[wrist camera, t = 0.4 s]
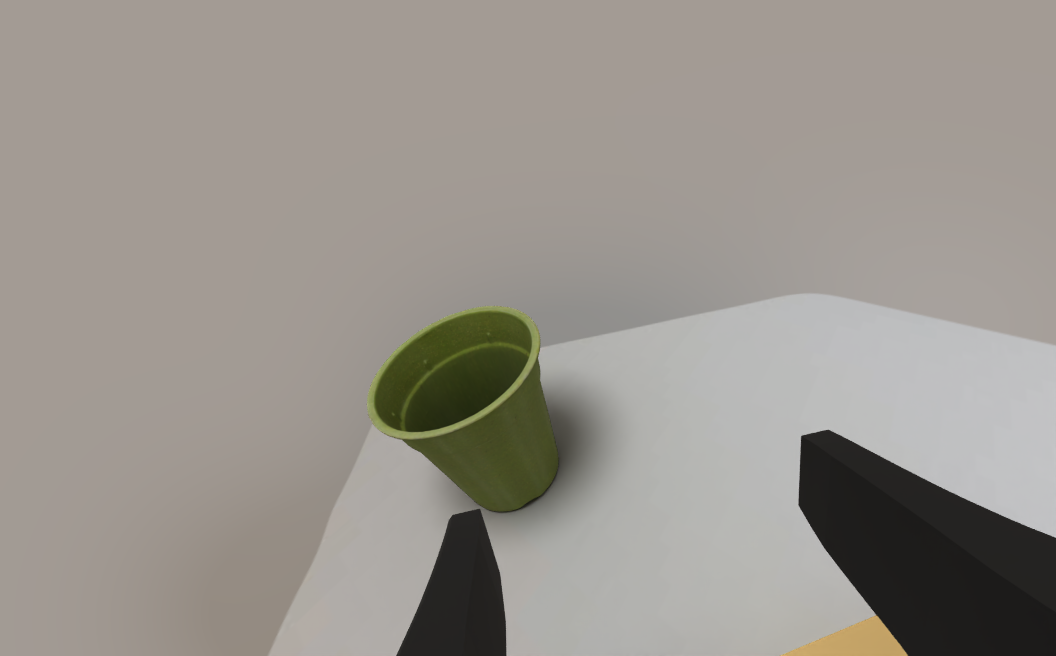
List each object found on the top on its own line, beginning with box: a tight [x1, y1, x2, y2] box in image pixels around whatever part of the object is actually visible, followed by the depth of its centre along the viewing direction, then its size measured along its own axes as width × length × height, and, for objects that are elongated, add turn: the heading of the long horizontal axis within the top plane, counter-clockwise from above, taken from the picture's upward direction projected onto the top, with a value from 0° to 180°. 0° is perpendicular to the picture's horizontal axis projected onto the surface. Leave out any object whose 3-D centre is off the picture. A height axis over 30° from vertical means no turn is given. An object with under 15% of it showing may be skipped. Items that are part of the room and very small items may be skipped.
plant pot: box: [367, 306, 559, 511], centre depth 37 cm, size 12×12×11 cm
